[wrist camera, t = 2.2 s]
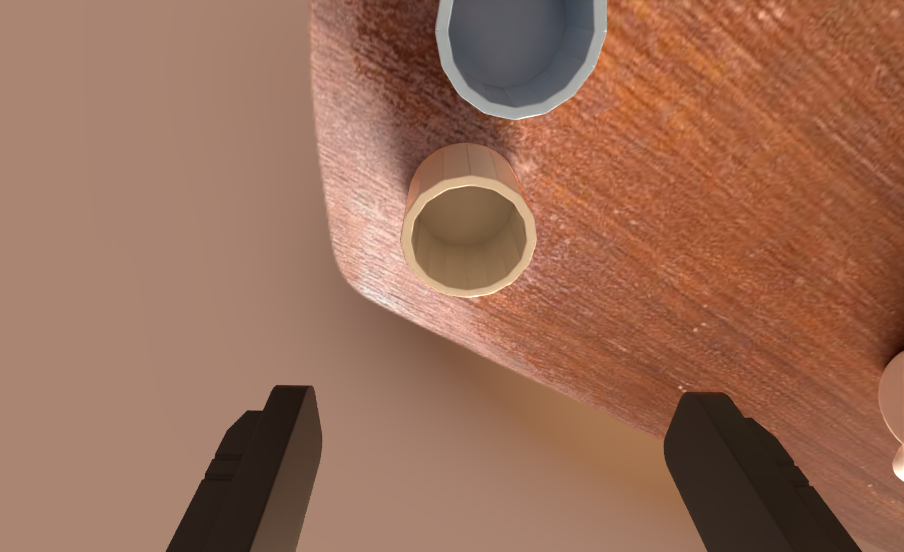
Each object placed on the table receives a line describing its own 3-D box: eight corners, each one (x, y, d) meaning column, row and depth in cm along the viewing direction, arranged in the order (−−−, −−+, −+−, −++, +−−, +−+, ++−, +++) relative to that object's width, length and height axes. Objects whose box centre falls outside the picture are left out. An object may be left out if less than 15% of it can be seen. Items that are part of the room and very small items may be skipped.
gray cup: (427, 80, 23) (422, 100, 19) (452, -75, 20) (455, -98, 15) (548, 106, 24) (573, 132, 19) (591, -39, 21) (634, -51, 16)
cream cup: (401, 237, 28) (392, 286, 23) (418, 131, 25) (412, 163, 20) (503, 255, 28) (515, 306, 24) (533, 155, 25) (554, 190, 21)
